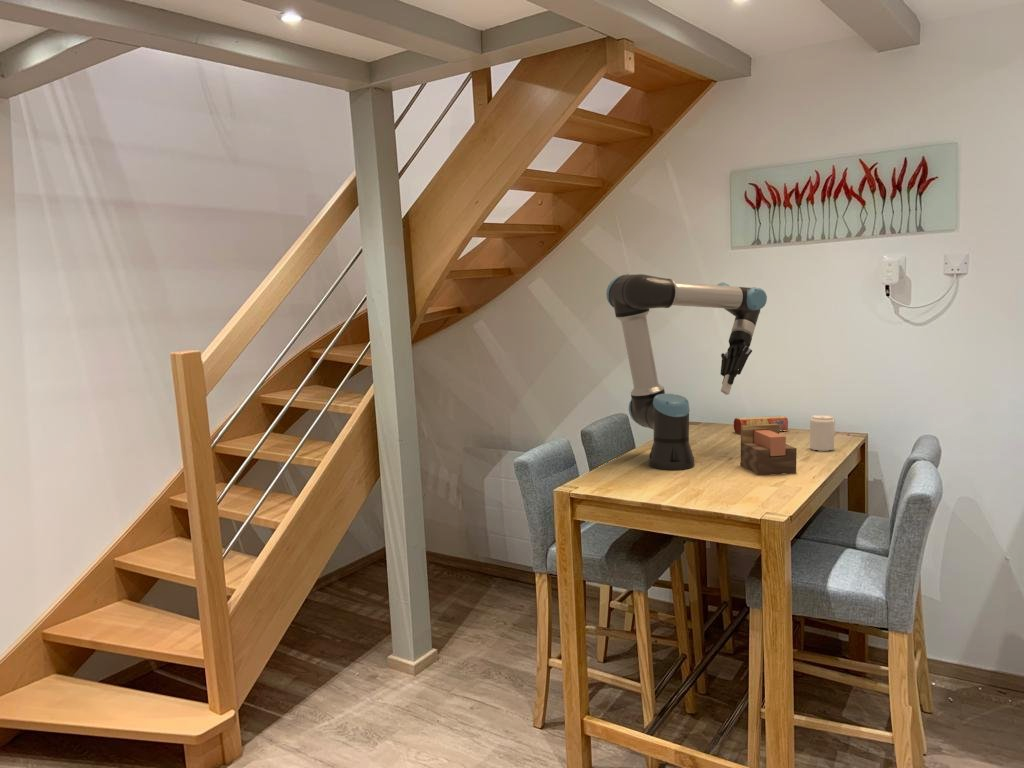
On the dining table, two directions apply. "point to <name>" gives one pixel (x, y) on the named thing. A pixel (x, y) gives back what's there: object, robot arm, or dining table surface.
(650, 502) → the dining table surface
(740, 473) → the dining table surface
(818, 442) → the beverage can
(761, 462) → the guide block
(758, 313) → the robot arm
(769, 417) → the snack package
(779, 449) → the peg
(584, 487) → the dining table surface
